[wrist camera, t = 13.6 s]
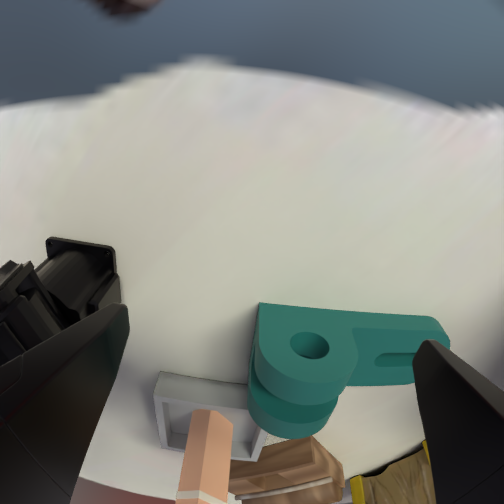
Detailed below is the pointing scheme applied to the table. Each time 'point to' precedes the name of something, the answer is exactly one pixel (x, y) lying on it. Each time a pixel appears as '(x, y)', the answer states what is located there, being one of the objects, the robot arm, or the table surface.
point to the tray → (211, 398)
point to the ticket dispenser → (288, 475)
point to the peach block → (206, 460)
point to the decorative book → (398, 483)
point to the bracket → (326, 361)
